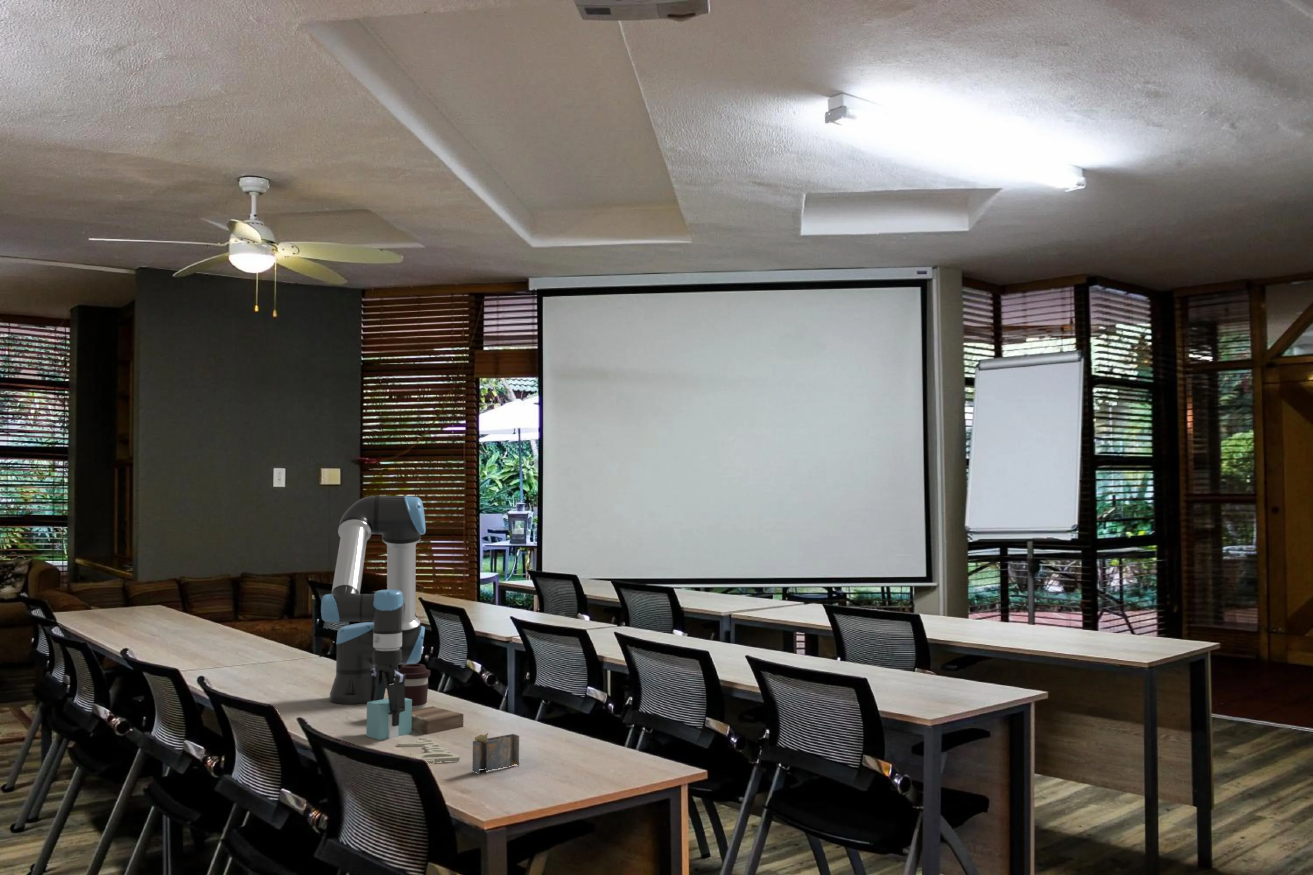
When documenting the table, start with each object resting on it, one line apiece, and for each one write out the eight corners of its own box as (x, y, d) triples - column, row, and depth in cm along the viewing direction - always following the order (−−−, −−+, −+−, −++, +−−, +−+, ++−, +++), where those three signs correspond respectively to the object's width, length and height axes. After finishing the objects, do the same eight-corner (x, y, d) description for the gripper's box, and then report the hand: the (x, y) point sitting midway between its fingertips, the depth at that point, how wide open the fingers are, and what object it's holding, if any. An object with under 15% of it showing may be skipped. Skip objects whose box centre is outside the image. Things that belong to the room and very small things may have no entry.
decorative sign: (461, 756, 256) (421, 761, 251) (461, 763, 256) (421, 768, 251) (431, 736, 276) (393, 740, 271) (431, 742, 276) (393, 746, 271)
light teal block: (366, 736, 278) (367, 701, 278) (398, 729, 285) (398, 696, 286) (379, 739, 274) (380, 705, 274) (411, 733, 281) (411, 699, 282)
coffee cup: (420, 722, 296) (421, 669, 297) (388, 720, 298) (389, 667, 299) (435, 714, 306) (435, 663, 306) (403, 713, 308) (404, 661, 308)
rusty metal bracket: (479, 776, 244) (479, 734, 245) (472, 773, 247) (473, 732, 247) (519, 768, 252) (520, 727, 252) (512, 765, 254) (513, 724, 254)
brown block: (396, 727, 290) (397, 712, 290) (432, 720, 299) (432, 705, 299) (427, 736, 280) (427, 719, 281) (463, 728, 289) (463, 712, 290)
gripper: (355, 646, 283) (353, 732, 282) (396, 654, 271) (394, 744, 270) (378, 642, 289) (377, 727, 288) (420, 650, 276) (418, 739, 275)
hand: (385, 735), depth 279 cm, fingers closed on light teal block, 6 cm apart
